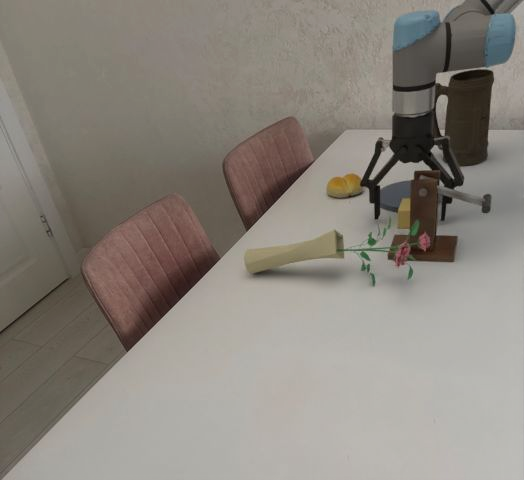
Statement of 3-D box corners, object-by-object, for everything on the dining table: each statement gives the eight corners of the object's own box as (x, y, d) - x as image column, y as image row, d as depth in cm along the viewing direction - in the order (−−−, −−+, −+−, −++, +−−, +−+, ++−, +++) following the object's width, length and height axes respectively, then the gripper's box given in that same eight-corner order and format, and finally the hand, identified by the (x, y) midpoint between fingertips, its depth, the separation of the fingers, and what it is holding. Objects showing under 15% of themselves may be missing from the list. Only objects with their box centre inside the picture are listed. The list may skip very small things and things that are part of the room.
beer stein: (492, 150, 129) (497, 64, 117) (488, 165, 122) (492, 76, 110) (431, 155, 136) (429, 74, 124) (423, 170, 129) (420, 86, 117)
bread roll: (324, 189, 128) (323, 173, 125) (359, 183, 127) (359, 167, 125) (329, 201, 121) (328, 185, 119) (366, 195, 121) (365, 179, 118)
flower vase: (273, 293, 108) (442, 267, 91) (247, 311, 98) (432, 286, 81) (259, 240, 104) (432, 202, 87) (231, 252, 94) (421, 212, 77)
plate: (446, 184, 118) (446, 179, 117) (439, 212, 108) (440, 207, 107) (382, 185, 124) (382, 180, 123) (370, 212, 113) (370, 207, 113)
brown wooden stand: (457, 241, 98) (463, 166, 88) (453, 262, 92) (460, 184, 83) (394, 239, 102) (394, 168, 93) (387, 259, 97) (387, 185, 87)
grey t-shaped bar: (488, 204, 90) (494, 192, 88) (487, 217, 86) (493, 204, 84) (417, 183, 92) (421, 171, 90) (413, 195, 88) (418, 182, 87)
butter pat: (402, 215, 110) (402, 198, 107) (423, 215, 108) (423, 198, 106) (397, 228, 106) (397, 210, 103) (419, 228, 104) (419, 210, 101)
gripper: (486, 101, 91) (473, 210, 104) (351, 109, 100) (355, 208, 113) (484, 113, 86) (471, 226, 99) (342, 121, 95) (347, 224, 108)
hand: (409, 217), depth 106 cm, fingers open, 13 cm apart
